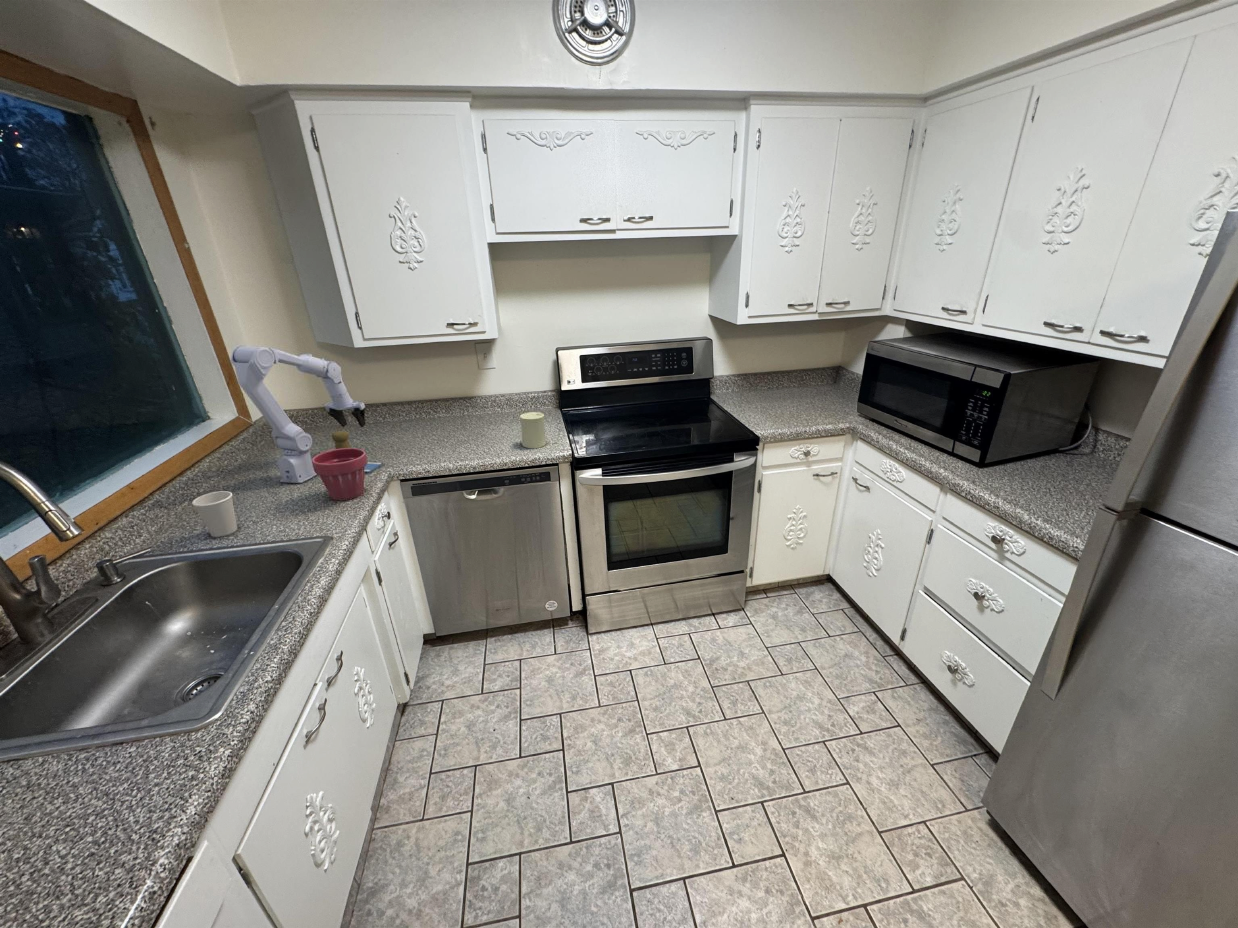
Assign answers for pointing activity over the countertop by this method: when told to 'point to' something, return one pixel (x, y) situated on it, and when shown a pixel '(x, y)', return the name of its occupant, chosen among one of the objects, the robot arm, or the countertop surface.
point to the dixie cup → (217, 512)
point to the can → (533, 430)
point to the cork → (341, 439)
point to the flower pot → (341, 472)
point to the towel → (371, 466)
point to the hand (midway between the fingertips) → (354, 425)
